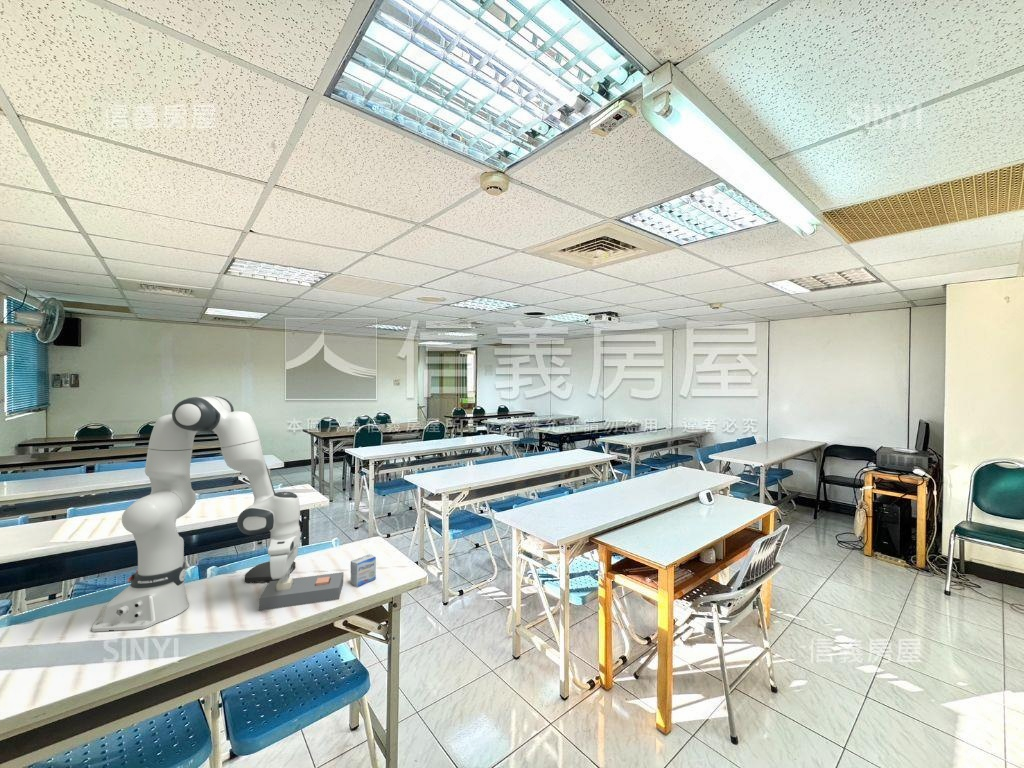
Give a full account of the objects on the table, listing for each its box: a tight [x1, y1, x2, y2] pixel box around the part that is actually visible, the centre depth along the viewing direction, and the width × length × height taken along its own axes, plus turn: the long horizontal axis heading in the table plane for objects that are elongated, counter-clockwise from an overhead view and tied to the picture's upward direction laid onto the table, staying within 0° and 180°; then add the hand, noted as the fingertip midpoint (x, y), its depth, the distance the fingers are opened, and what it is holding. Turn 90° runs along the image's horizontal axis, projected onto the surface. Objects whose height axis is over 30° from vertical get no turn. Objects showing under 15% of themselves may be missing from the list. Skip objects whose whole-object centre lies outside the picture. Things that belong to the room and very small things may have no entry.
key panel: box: [258, 571, 344, 612], centre depth 136 cm, size 24×12×4 cm, turn 107°
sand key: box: [276, 577, 294, 591], centre depth 135 cm, size 4×4×3 cm
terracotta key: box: [316, 577, 330, 586], centre depth 138 cm, size 4×4×3 cm
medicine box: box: [350, 553, 377, 588], centre depth 147 cm, size 8×4×9 cm, turn 143°
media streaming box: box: [244, 560, 297, 584], centre depth 153 cm, size 15×15×3 cm
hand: (285, 580), depth 135 cm, fingers closed
